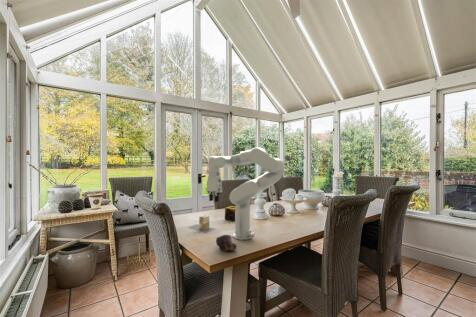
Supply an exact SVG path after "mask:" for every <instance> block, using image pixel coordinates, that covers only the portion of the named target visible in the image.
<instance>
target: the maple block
mask: <svg viewBox="0 0 476 317" xmlns="http://www.w3.org/2000/svg"><path fill="white" fill-rule="evenodd" d="M198 221H199V222H198V225H199V229H200V230H204V231H205V230H207V229H209V227H210V215H204V214H203V215H200V216H199V217H198Z"/></svg>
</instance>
